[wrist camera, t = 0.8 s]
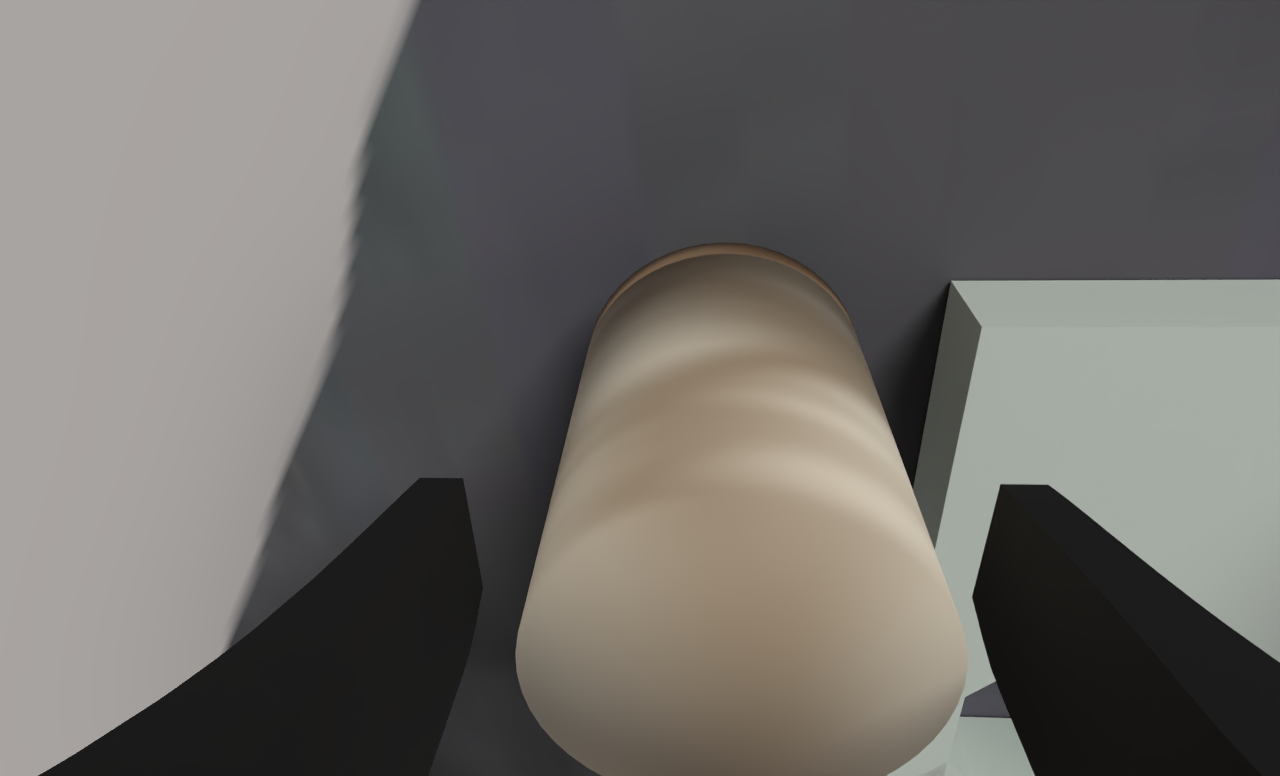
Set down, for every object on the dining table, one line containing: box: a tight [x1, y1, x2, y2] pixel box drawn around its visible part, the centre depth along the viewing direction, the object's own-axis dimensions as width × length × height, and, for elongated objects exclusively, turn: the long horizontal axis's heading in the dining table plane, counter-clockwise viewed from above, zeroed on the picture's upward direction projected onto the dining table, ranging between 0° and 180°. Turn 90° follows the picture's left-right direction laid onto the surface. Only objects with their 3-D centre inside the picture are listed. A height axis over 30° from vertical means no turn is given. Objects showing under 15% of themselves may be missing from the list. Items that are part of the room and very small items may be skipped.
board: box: [886, 280, 1280, 776], centre depth 19 cm, size 11×18×2 cm, turn 1°
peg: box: [515, 243, 968, 776], centre depth 13 cm, size 5×5×9 cm
